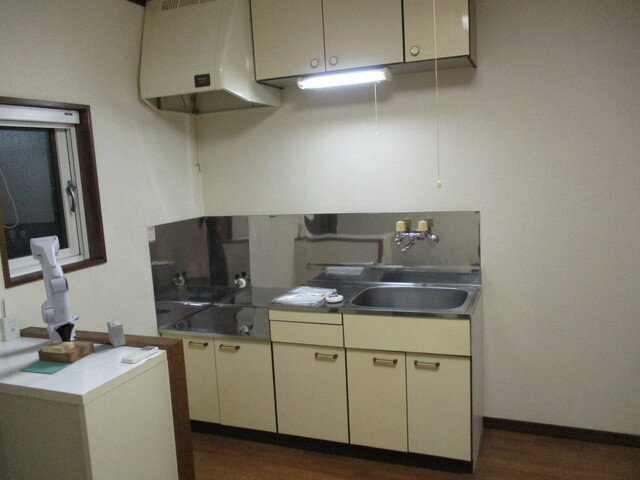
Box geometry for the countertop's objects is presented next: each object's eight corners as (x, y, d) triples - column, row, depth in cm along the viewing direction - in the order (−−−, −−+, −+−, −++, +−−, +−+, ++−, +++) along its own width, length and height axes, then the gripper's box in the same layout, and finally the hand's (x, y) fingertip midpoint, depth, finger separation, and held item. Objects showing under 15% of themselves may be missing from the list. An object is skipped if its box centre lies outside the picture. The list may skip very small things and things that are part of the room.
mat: (38, 361, 197) (38, 360, 197) (70, 364, 192) (70, 363, 192) (19, 370, 189) (19, 370, 189) (52, 374, 184) (52, 373, 184)
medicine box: (125, 344, 209) (123, 324, 208) (114, 347, 207) (111, 326, 205) (120, 339, 216) (118, 319, 214) (109, 342, 213) (106, 322, 212)
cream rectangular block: (55, 345, 201) (54, 341, 200) (74, 347, 198) (73, 342, 198) (43, 351, 195) (42, 346, 195) (62, 353, 192) (61, 348, 192)
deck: (63, 349, 208) (62, 339, 208) (94, 351, 204) (93, 341, 203) (39, 361, 197) (37, 351, 197) (71, 363, 193) (69, 353, 192)
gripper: (55, 315, 190) (60, 351, 192) (84, 303, 203) (88, 337, 206) (39, 314, 192) (45, 349, 194) (69, 303, 205) (74, 336, 208)
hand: (66, 343), depth 200 cm, fingers closed
